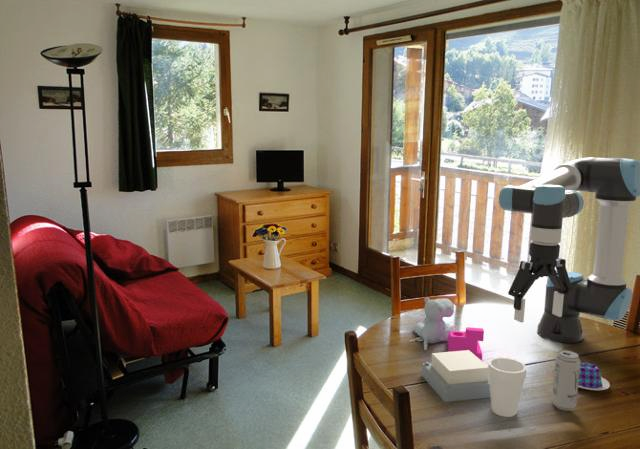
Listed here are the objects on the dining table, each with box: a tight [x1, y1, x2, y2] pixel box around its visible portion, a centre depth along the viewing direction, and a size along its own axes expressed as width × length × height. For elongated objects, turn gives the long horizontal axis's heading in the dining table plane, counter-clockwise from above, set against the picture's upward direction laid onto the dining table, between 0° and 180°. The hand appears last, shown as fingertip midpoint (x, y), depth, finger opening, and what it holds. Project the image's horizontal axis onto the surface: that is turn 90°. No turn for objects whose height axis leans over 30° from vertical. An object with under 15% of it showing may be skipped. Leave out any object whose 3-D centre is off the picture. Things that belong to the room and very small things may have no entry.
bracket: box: [446, 326, 485, 362], centre depth 174 cm, size 12×10×10 cm
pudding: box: [578, 362, 611, 391], centre depth 154 cm, size 12×12×5 cm
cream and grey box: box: [421, 350, 491, 403], centre depth 151 cm, size 16×16×8 cm
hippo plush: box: [409, 297, 458, 352], centre depth 184 cm, size 15×19×15 cm
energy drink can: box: [551, 349, 582, 412], centre depth 139 cm, size 6×6×15 cm
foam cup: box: [487, 356, 527, 418], centre depth 137 cm, size 10×9×13 cm
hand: (538, 318), depth 143 cm, fingers open, 13 cm apart
